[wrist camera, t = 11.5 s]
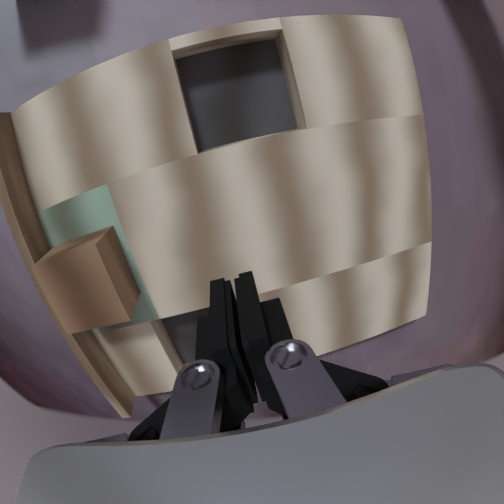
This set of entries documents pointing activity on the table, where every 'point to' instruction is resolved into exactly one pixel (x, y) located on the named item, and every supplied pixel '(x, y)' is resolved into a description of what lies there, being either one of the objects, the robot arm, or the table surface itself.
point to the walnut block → (88, 282)
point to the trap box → (233, 184)
